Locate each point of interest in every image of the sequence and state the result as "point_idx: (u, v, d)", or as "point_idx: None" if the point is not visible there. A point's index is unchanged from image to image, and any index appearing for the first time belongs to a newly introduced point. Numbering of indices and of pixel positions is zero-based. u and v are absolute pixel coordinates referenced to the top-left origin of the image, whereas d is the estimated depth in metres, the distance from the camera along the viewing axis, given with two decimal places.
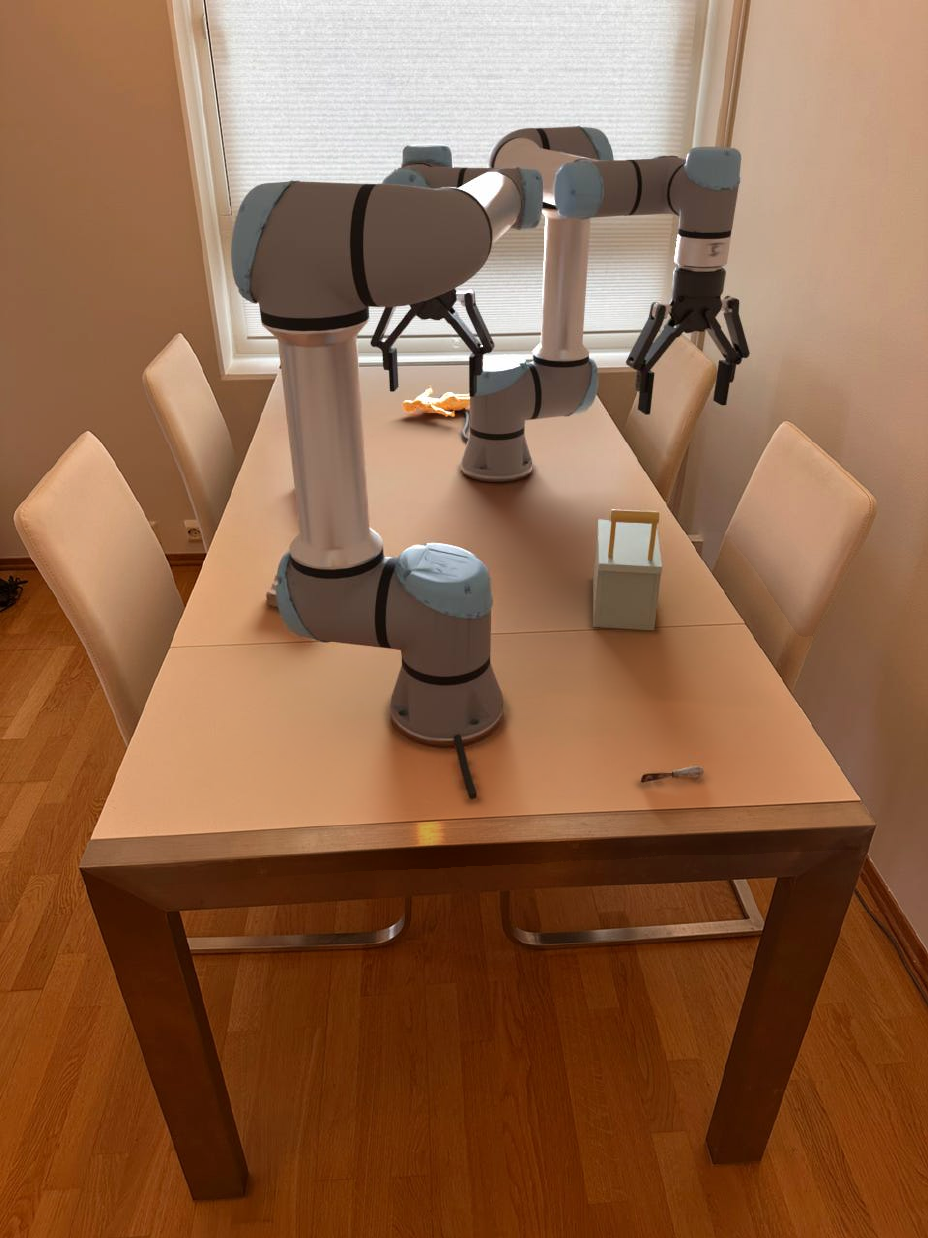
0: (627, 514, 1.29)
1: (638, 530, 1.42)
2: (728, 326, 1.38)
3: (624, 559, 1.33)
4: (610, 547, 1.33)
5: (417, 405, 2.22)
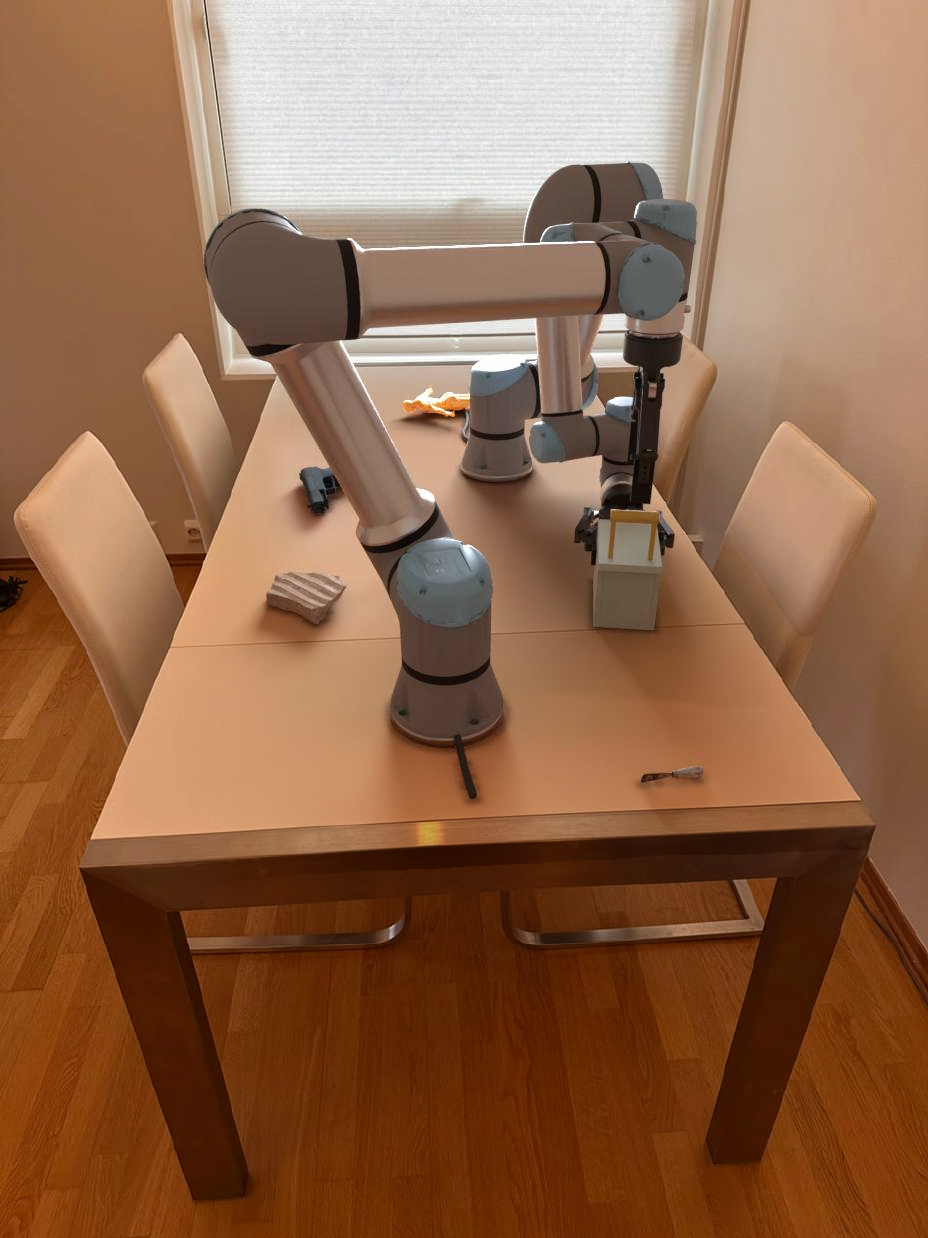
0: (627, 514, 1.29)
1: (638, 530, 1.42)
2: (588, 520, 1.55)
3: (624, 559, 1.33)
4: (610, 547, 1.33)
5: (417, 405, 2.22)
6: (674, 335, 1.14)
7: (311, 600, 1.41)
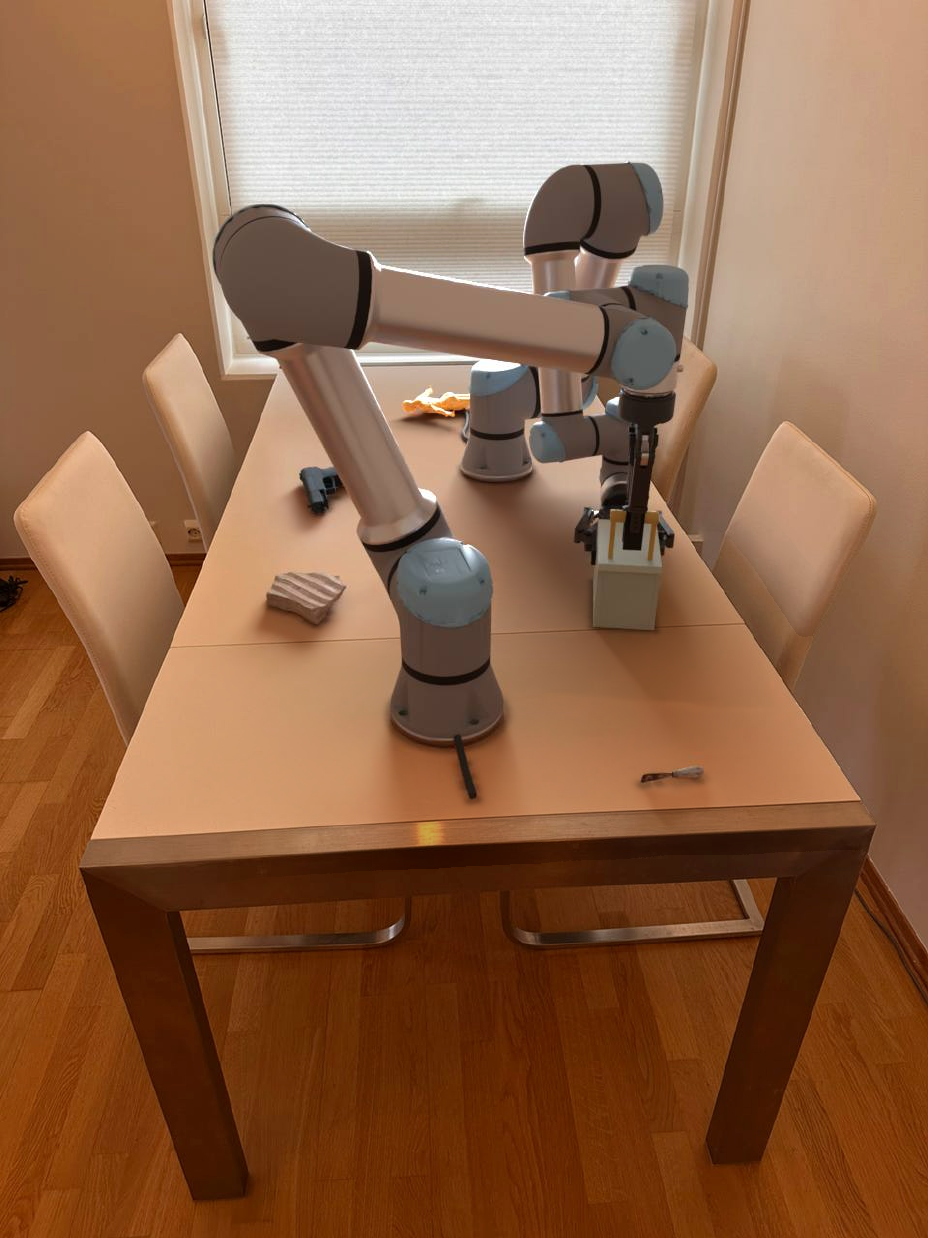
0: None
1: None
2: (588, 520, 1.55)
3: (624, 559, 1.33)
4: (610, 547, 1.33)
5: (417, 405, 2.22)
6: (667, 394, 1.18)
7: (311, 600, 1.41)
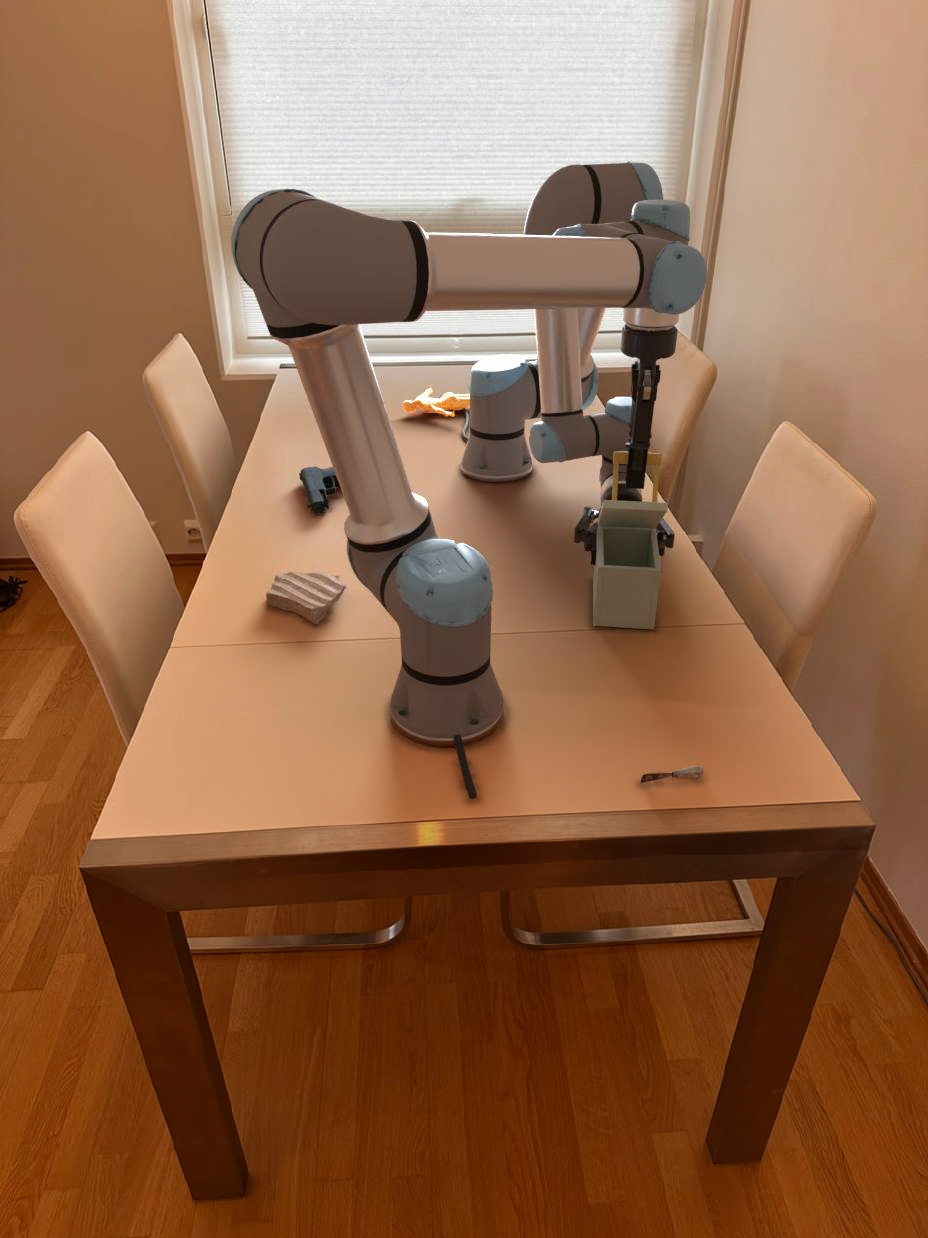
0: None
1: None
2: (588, 520, 1.55)
3: None
4: (614, 490, 1.32)
5: (417, 405, 2.22)
6: (669, 328, 1.21)
7: (311, 600, 1.41)
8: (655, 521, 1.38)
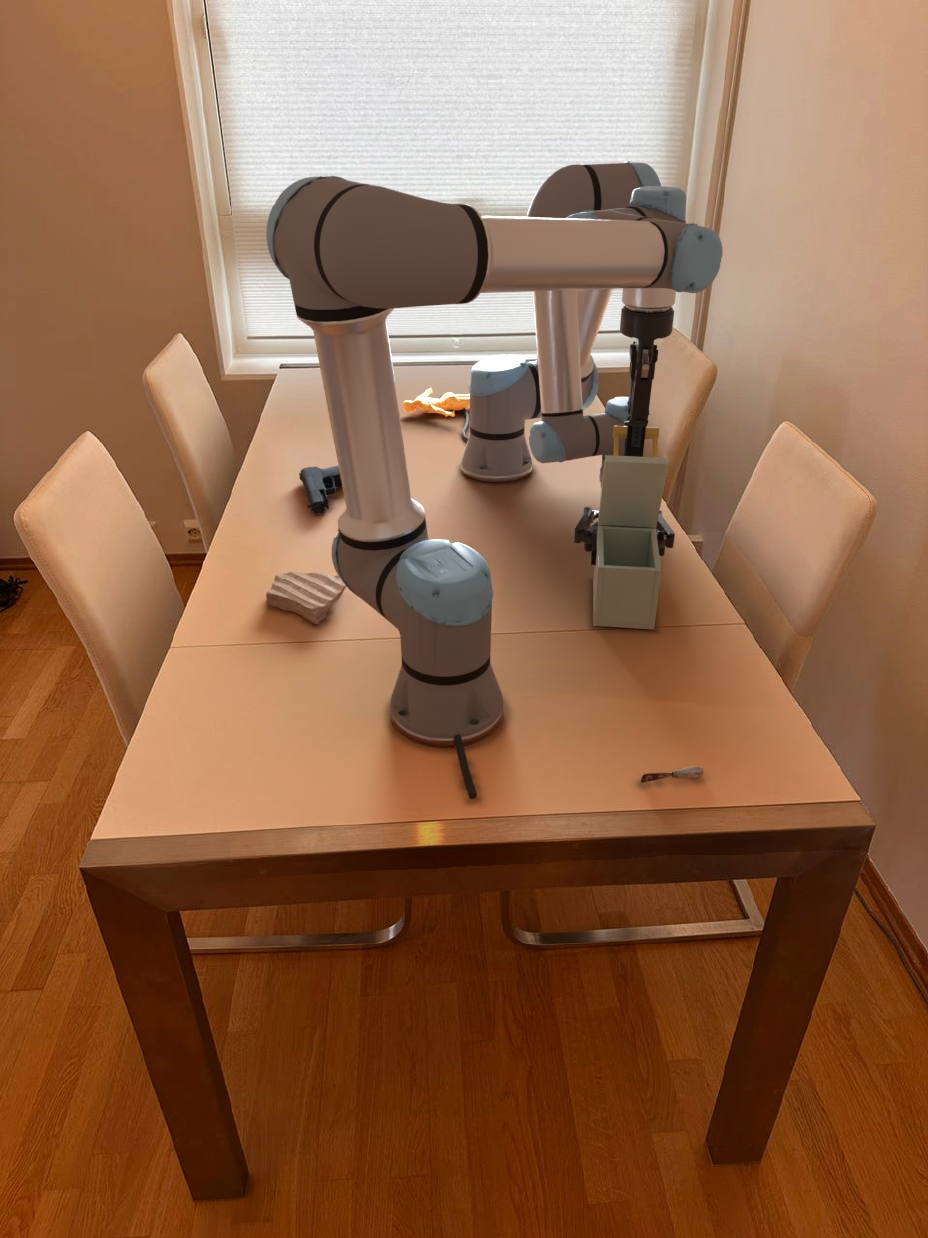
0: None
1: None
2: (588, 520, 1.55)
3: None
4: (615, 454, 1.35)
5: (417, 405, 2.22)
6: (666, 309, 1.26)
7: (311, 600, 1.41)
8: (656, 502, 1.39)
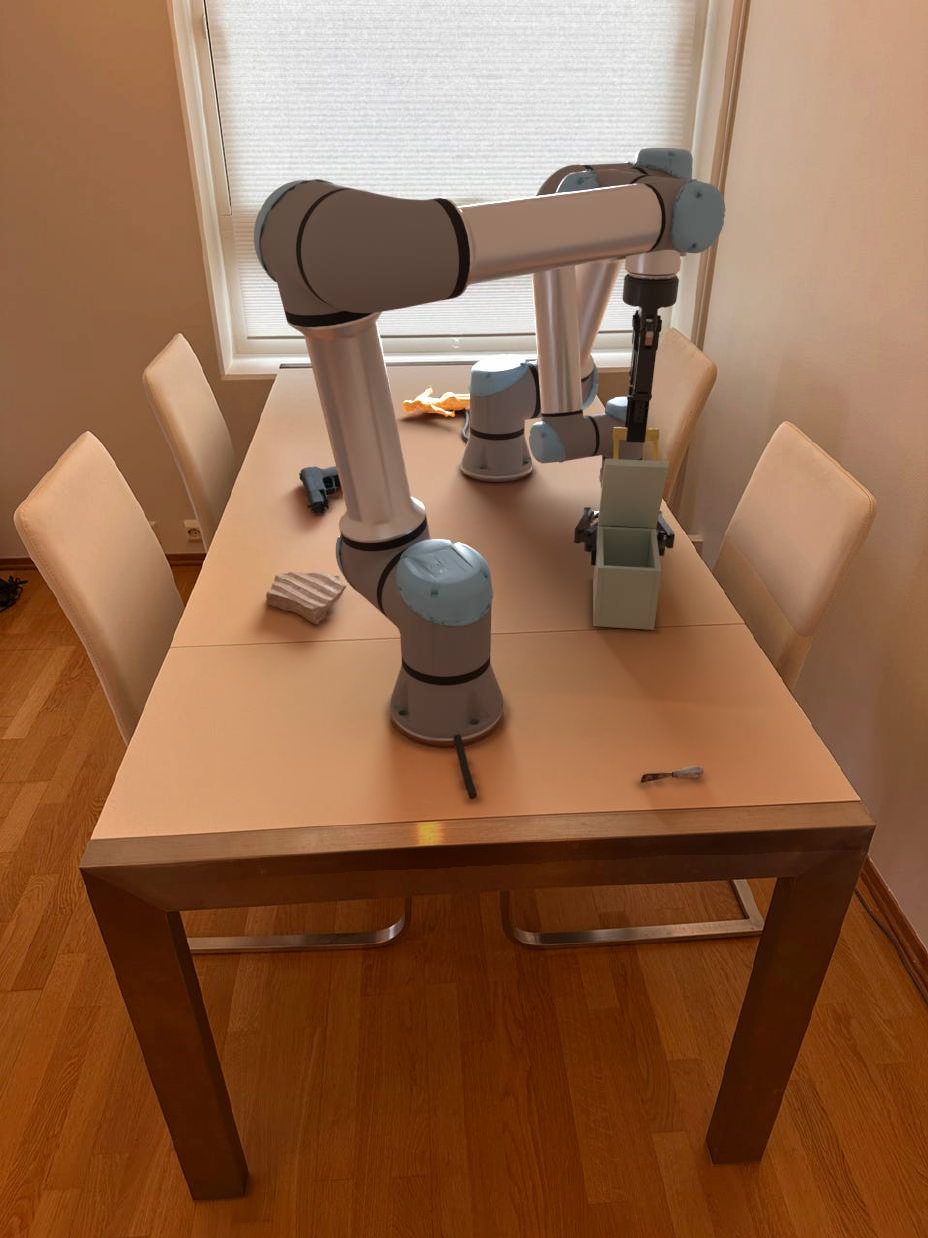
0: None
1: None
2: (588, 520, 1.55)
3: None
4: (615, 457, 1.35)
5: (417, 405, 2.22)
6: (671, 277, 1.22)
7: (311, 600, 1.41)
8: (656, 504, 1.39)
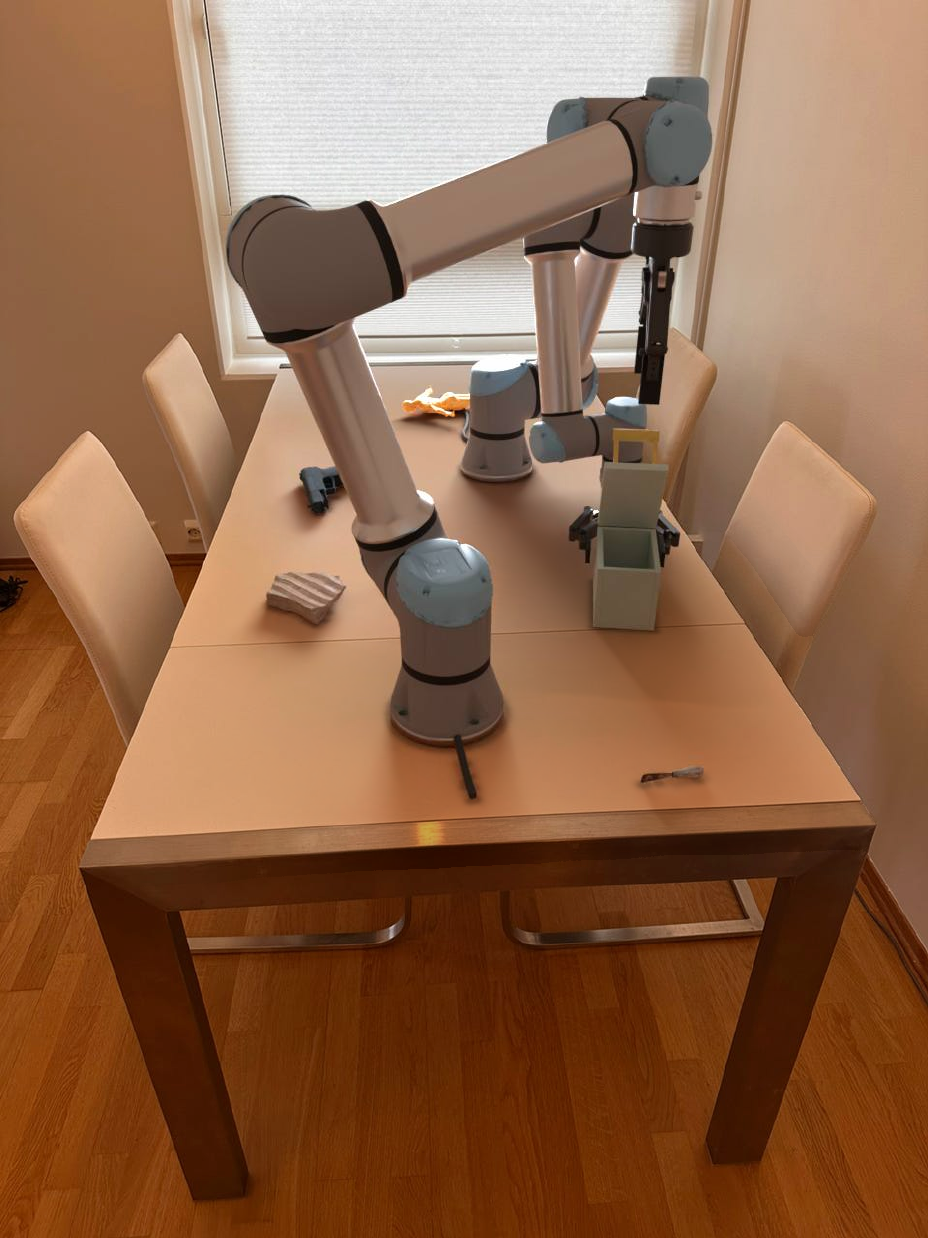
0: (629, 429, 1.37)
1: None
2: (585, 519, 1.55)
3: None
4: (614, 459, 1.34)
5: (417, 405, 2.22)
6: (684, 223, 1.10)
7: (311, 600, 1.41)
8: (656, 505, 1.39)
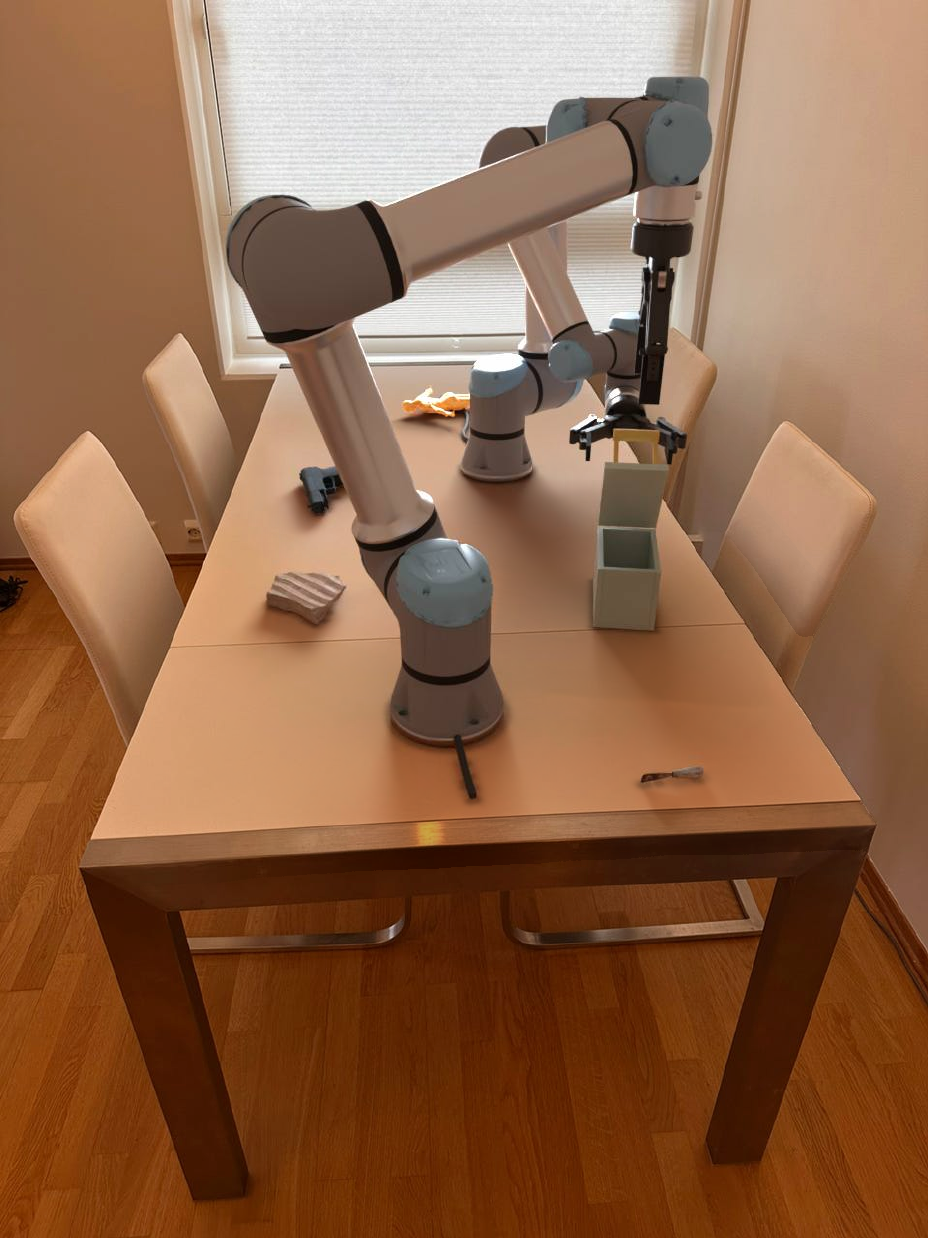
0: (629, 429, 1.37)
1: None
2: (588, 425, 1.60)
3: None
4: (615, 459, 1.34)
5: (417, 405, 2.22)
6: (684, 223, 1.10)
7: (311, 600, 1.41)
8: (656, 505, 1.39)
